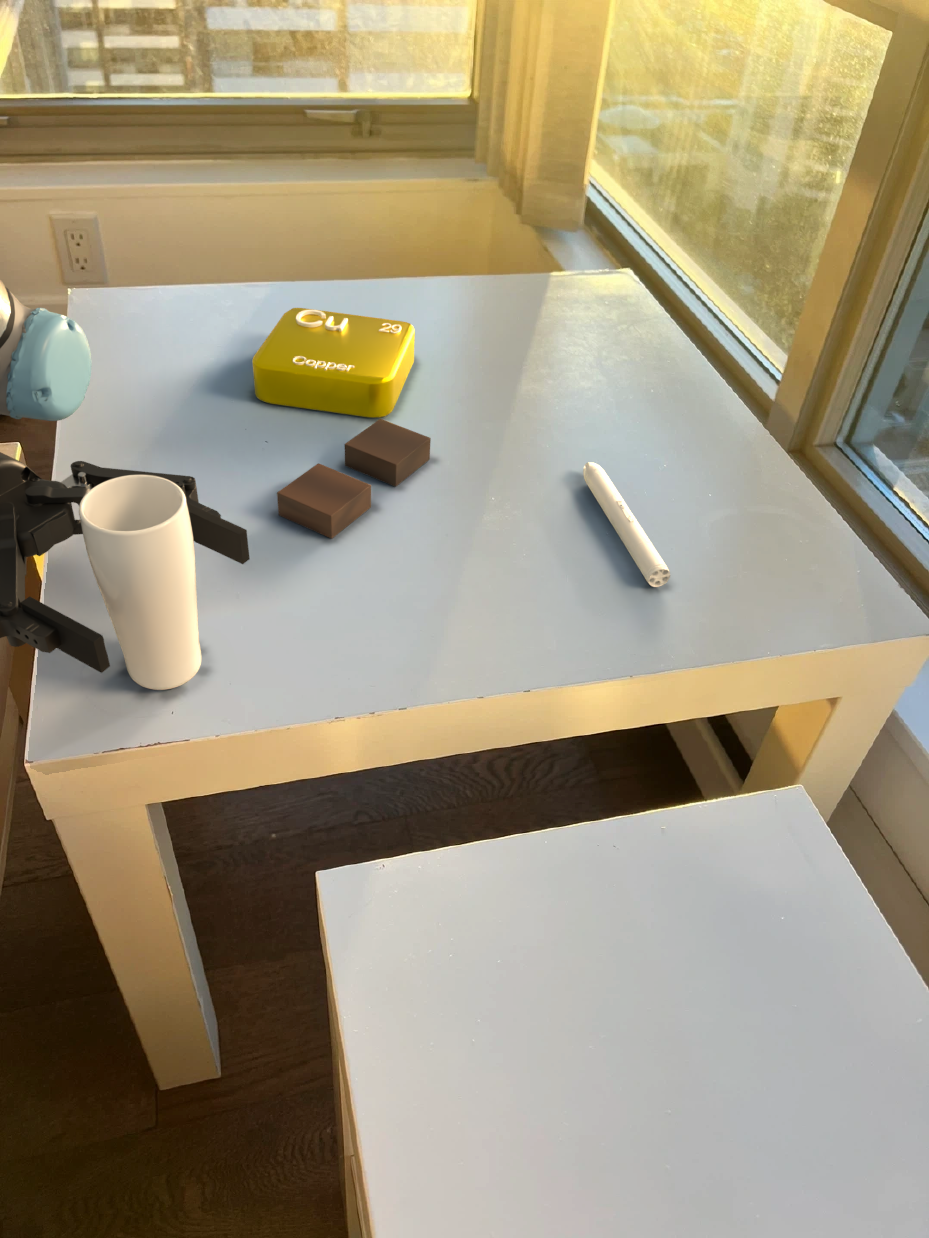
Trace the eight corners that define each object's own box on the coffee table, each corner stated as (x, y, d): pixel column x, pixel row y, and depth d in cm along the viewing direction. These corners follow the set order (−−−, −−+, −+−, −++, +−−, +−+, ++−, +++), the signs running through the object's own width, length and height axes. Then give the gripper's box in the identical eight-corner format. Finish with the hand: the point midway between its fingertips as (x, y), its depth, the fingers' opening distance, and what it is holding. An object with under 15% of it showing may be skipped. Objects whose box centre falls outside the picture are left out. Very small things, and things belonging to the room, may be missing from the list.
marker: (575, 473, 95) (578, 452, 93) (594, 471, 95) (598, 451, 94) (645, 589, 82) (651, 567, 81) (668, 586, 83) (674, 564, 81)
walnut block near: (331, 539, 84) (331, 516, 83) (278, 515, 86) (276, 492, 85) (371, 507, 88) (371, 484, 87) (319, 485, 90) (318, 462, 89)
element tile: (249, 402, 101) (245, 360, 98) (290, 340, 112) (288, 300, 109) (389, 422, 100) (390, 380, 97) (417, 357, 111) (418, 317, 108)
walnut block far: (395, 487, 91) (396, 464, 89) (344, 466, 93) (344, 444, 91) (429, 459, 95) (431, 437, 93) (380, 440, 97) (380, 418, 95)
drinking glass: (227, 679, 71) (203, 514, 61) (137, 714, 68) (97, 546, 58) (191, 625, 75) (163, 462, 65) (105, 656, 72) (62, 490, 62)
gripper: (101, 460, 83) (296, 549, 76) (-172, 618, 67) (43, 750, 59) (84, 382, 78) (291, 468, 71) (-216, 531, 62) (13, 664, 54)
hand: (178, 597), depth 65 cm, fingers open, 13 cm apart
